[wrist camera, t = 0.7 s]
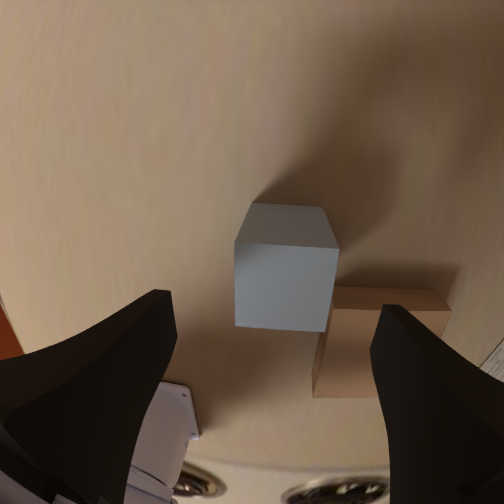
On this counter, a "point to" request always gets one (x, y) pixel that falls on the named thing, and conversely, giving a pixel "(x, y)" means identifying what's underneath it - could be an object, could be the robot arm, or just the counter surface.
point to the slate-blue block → (284, 268)
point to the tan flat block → (364, 336)
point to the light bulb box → (495, 363)
